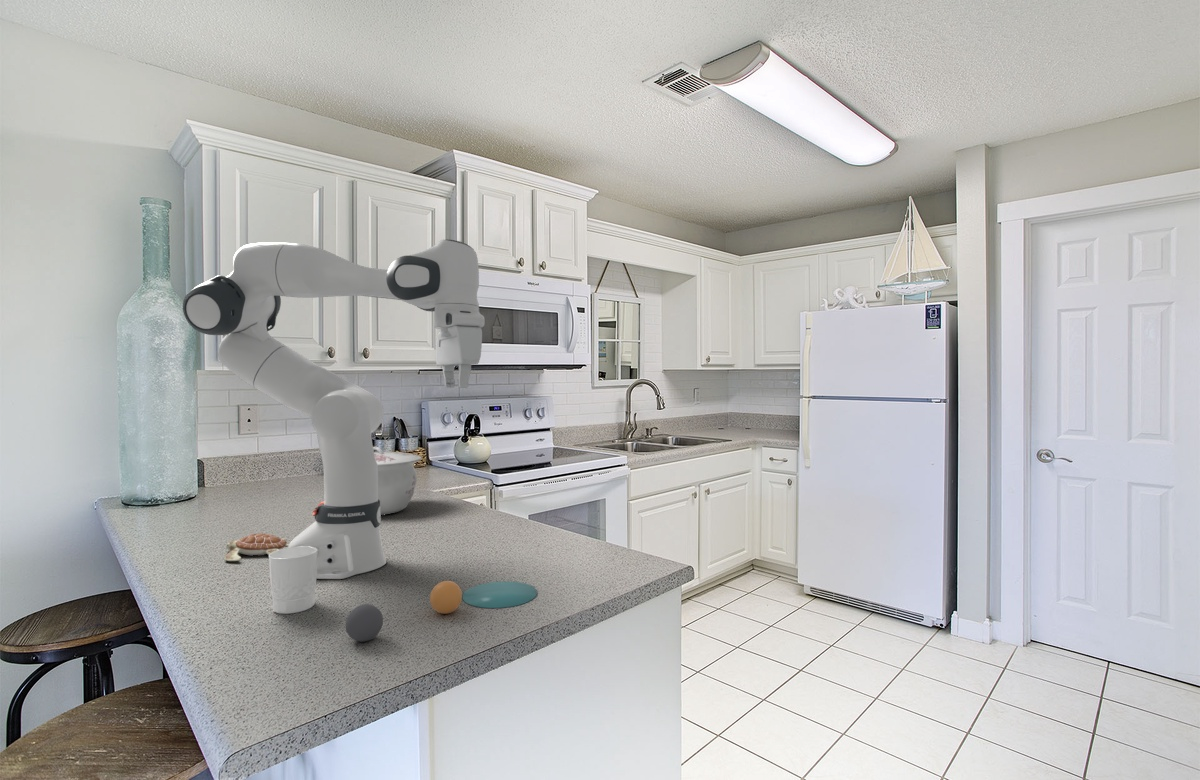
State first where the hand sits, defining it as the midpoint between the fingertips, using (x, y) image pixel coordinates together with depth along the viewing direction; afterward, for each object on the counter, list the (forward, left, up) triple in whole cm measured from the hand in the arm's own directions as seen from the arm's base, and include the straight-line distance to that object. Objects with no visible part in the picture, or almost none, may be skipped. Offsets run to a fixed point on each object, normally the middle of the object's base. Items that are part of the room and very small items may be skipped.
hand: (456, 387), depth 124 cm
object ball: (0, -19, -37) cm, 41 cm away
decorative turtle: (-49, +27, -40) cm, 69 cm away
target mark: (+9, -11, -39) cm, 42 cm away
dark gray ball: (-12, -28, -37) cm, 48 cm away
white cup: (-28, -12, -40) cm, 50 cm away
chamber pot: (-31, +70, -40) cm, 86 cm away
